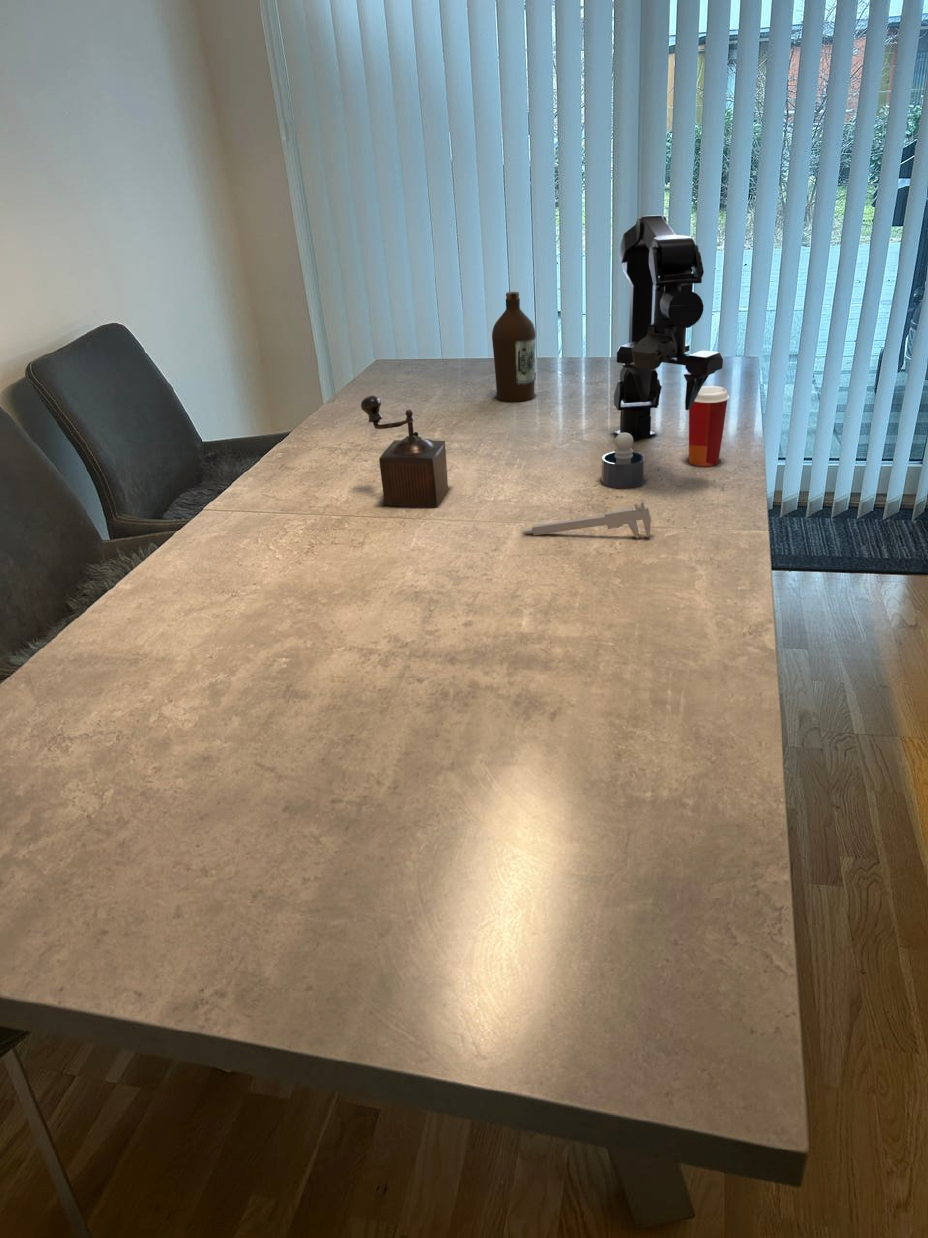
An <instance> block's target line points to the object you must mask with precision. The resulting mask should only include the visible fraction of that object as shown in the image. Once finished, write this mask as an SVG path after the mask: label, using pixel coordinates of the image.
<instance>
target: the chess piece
mask: <svg viewBox="0 0 928 1238" xmlns="http://www.w3.org/2000/svg"><path fill="white" fill-rule="evenodd" d="M614 445H615V447H616V448H615V449H614V452H615V453H616V454H615V458H616V464H630V463H631V458H632V457H633V455H632V453H633V452H634V450H633V449H632V448H633V446H634V440H633V437H632V436H631V435H630V434H629V433H620V434H619V435H616V437H615V440H614Z"/></svg>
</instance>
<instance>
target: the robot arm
mask: <svg viewBox="0 0 928 1238" xmlns="http://www.w3.org/2000/svg"><path fill="white" fill-rule="evenodd" d="M619 262H620V263H621V264H622V267H621V269H622V271H623V274H624V276H625V277H626V279H627V281H628V283H629V313H628V314H629V316H628V317H629V318H628V343H625V344H623V345H620V346H619V348H618V349H617V351H616V361H615V362H616V363H617V364H622V365H621V366H622V368H621V369H620V371H619V380H617V383H616V386H615V390H614V393H613V404H614V407H615V409H616V410H617V411H620V415H619V417H620V418H619V419H620V420H619V430H615V431H614V432H613V434H614V435H616V436H618V435H619V434H620V433H629V434H630V435H631V436H632V437H633V441H637V440H641V439H645V438H649V437H653V436H656V431H655V432H654V431H652V430H651V428H652V415H651V414H652V412H651V411H652V410H651V409H652V408H653V409H658V406H659V405H660V397H661V392H662V389H663V385H662V384H661V381H660V379H659V378H658V377H659V373H658V371H657V369H658V368H659V367H660V366H661V365H662V363H664V364H673V365H678V366H680V365H681V366H684V367H685V370H686V371H687V373H684V374H683V377H684V379H685V381H686V387H685V398H684V409H685V411H689V409H691V407H692V405H693V403H694V401H695V399H696V397H697V395H698V393H699V391H700V389H701V387H702V386H704V384H705V382H706V380H708V378H709V376H711V375H713V374H715V373H716V372H717V371H719V370H720V371H721V370H723V367H724V366H723V365H724V357H723V356H722V354H721V352H719V351H712V350H699V351H695V352H694V353H691V354H688V352H690V346H691V345H690V344H687V331H688V330H687V329H688V328H689V329H690V328H691V327H692V326H694V325H696V324H697V323H698V322H699V321H700V319H701V318H702V315H703V313H704V303H703V300H702V298H701V296H700V295H699V294H698V293H696V292H695V291H694V290H693V288H694V284H702V282H703V279H702V278H703V275H704V273H705V271H704V265H703V259H702V254H701V251H700V250H699V245H698V244H697V243H696V241H695V240H694V238H693V237H691V236H689V235H681V234H680V235H679V234H676V233H675V231H674V229H672V228H671V226H670V225H669V224H668V223H667V217H666V216H665V215H662V214H654V215H653V214H652V215H641V216H640V217H637V219H636V222H635V224H634V225H633V226H632V227H630V228H629V229H628V230H626V231H625V232H624V233H623V235H622V238H621V242H620V244H619ZM654 286H655V288H654ZM653 293H654V295H653ZM653 296H654V299H653ZM653 300H654V301H653ZM652 319H653V320H652Z"/></svg>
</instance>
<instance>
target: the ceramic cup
mask: <svg viewBox="0 0 928 1238" xmlns="http://www.w3.org/2000/svg"><path fill="white" fill-rule="evenodd" d="M615 454H616V453H615V451H611V452H607V453H605V454H603V456H601V477H600V479H601V480H600V481H601V483H602V484H603V485H604V486H606V487H609V488H614V489H631V488H636V487H639V486H641V485H642V484H643V483H644V478H645V458H646V457H645V456H644V455H643V454H642V453H639V452H637V451H633V453H632V455H633V457H632V458H631V463H630V464H616V458H615Z"/></svg>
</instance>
